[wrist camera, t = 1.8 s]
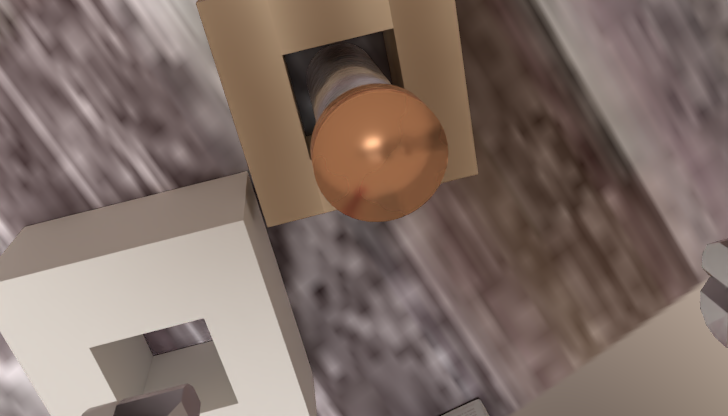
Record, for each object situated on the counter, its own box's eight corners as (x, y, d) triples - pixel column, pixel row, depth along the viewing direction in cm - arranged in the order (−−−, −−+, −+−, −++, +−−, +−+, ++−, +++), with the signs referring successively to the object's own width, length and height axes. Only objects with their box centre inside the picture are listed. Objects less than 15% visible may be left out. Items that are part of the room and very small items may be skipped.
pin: (376, 23, 25) (437, 77, 16) (392, 110, 26) (456, 203, 17) (286, 45, 25) (296, 111, 16) (309, 130, 26) (330, 236, 17)
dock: (247, 171, 27) (243, 219, 22) (312, 374, 32) (320, 447, 27) (24, 226, 26) (-26, 288, 22) (127, 423, 32) (104, 505, 27)
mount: (426, -59, 24) (447, -57, 21) (457, 150, 28) (477, 173, 25) (204, -6, 23) (195, 2, 21) (267, 198, 27) (267, 227, 25)
